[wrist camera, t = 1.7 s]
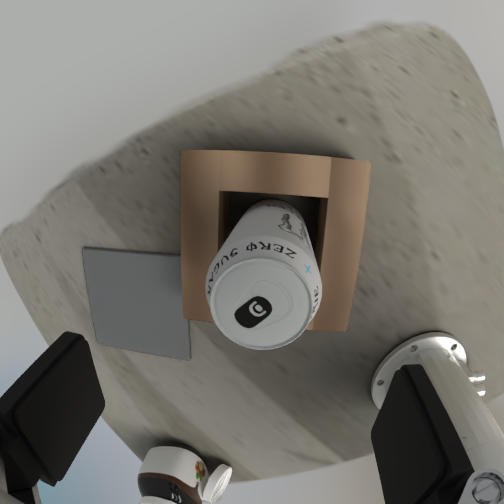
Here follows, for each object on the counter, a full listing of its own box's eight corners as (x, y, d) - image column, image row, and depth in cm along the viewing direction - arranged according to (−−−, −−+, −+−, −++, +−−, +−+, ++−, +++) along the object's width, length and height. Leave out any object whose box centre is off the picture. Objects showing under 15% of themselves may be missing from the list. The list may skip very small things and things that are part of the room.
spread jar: (145, 437, 40) (119, 494, 29) (211, 433, 38) (193, 501, 27) (182, 478, 43) (165, 531, 32) (243, 476, 41) (233, 535, 30)
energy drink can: (319, 234, 29) (351, 313, 14) (269, 274, 30) (256, 378, 16) (275, 183, 28) (265, 215, 13) (225, 228, 29) (172, 299, 15)
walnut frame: (356, 160, 26) (371, 161, 21) (338, 305, 30) (346, 331, 26) (198, 150, 27) (181, 149, 23) (197, 294, 31) (183, 318, 27)
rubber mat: (186, 255, 30) (185, 257, 30) (191, 357, 34) (190, 360, 33) (84, 247, 31) (81, 249, 31) (99, 340, 35) (97, 343, 34)
